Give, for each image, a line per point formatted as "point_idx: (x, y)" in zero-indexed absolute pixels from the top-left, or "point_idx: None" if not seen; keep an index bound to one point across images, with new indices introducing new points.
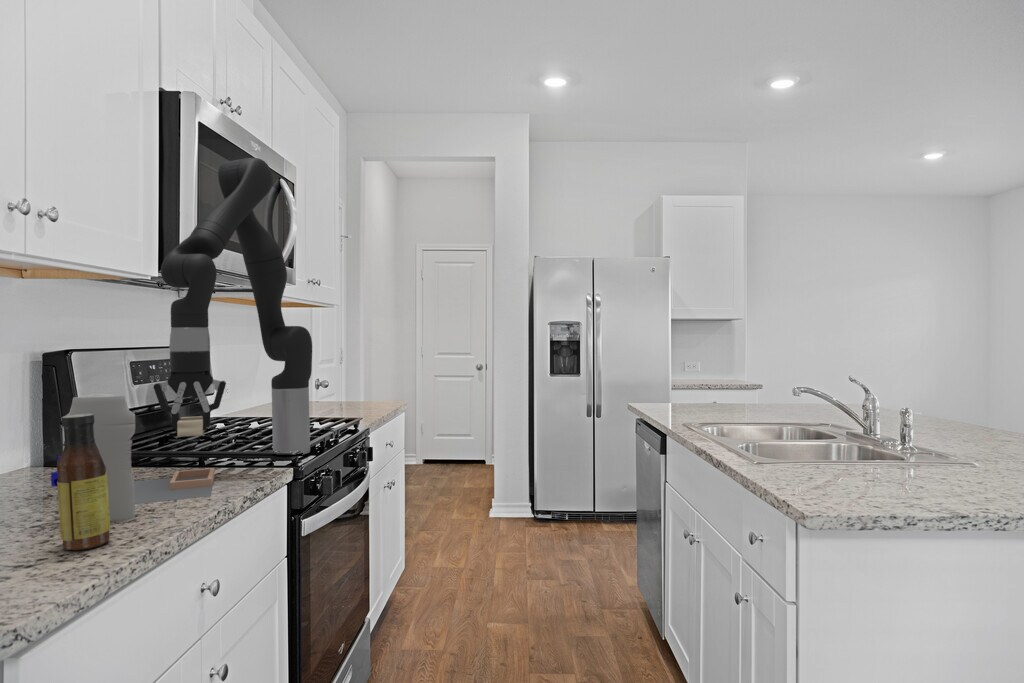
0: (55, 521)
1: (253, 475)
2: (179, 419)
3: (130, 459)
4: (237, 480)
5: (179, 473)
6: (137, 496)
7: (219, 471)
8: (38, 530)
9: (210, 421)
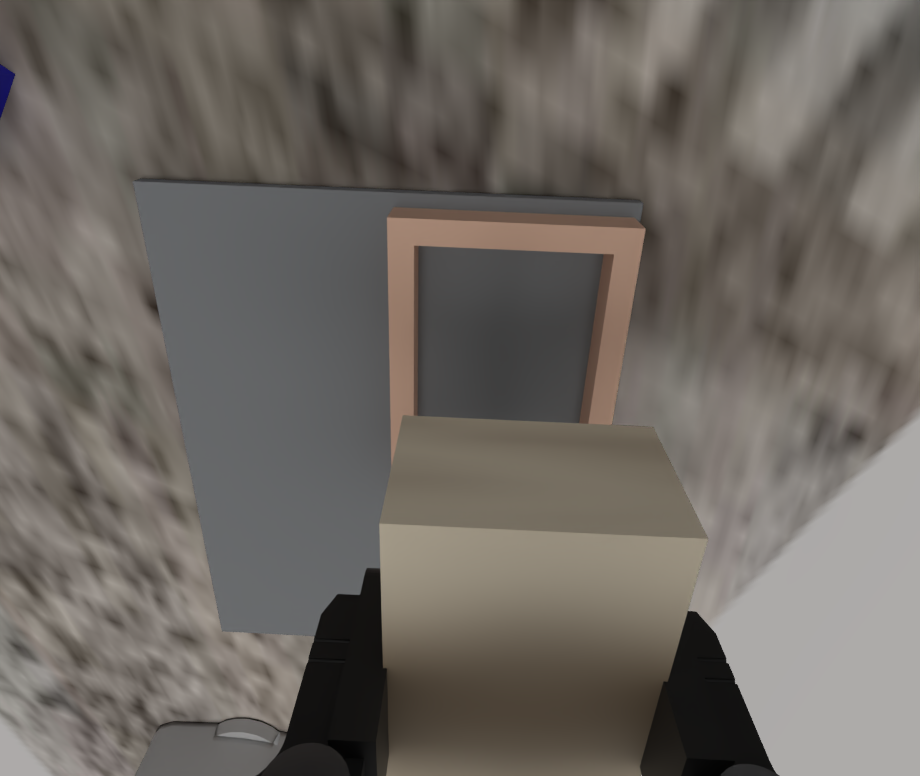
0: (87, 678)
1: (855, 288)
2: (387, 736)
3: None
4: (735, 377)
5: (415, 250)
6: (273, 538)
7: (688, 13)
8: (86, 735)
9: (725, 662)
